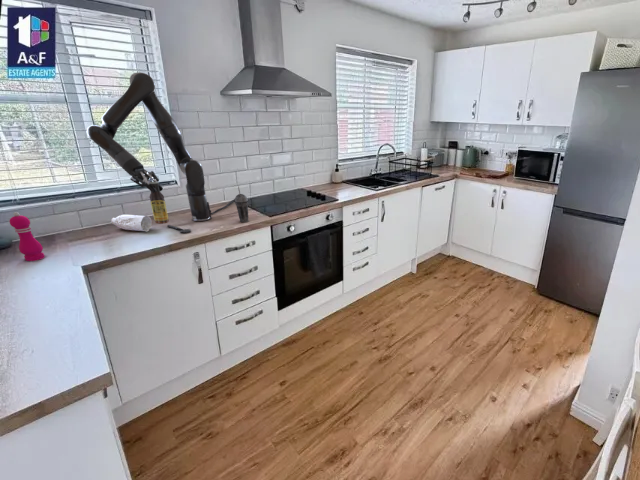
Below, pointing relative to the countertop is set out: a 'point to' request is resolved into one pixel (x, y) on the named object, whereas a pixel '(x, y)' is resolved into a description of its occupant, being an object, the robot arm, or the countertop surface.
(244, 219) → the beverage cup
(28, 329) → the countertop surface
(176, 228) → the spoon
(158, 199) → the sauce bottle
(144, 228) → the white bottle
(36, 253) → the pepper mill
